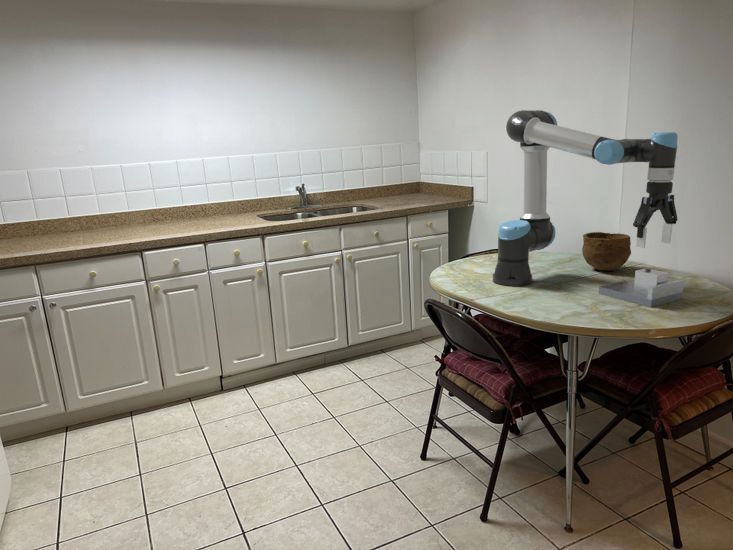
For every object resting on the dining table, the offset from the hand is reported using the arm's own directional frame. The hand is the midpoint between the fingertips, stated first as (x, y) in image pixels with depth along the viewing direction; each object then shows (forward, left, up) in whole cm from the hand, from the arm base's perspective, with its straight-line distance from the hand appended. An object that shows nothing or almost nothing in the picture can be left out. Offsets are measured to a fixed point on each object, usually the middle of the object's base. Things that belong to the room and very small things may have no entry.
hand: (653, 245), depth 182 cm
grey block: (0, 0, -16) cm, 16 cm away
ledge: (0, +3, -19) cm, 19 cm away
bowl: (+23, +35, -19) cm, 46 cm away
